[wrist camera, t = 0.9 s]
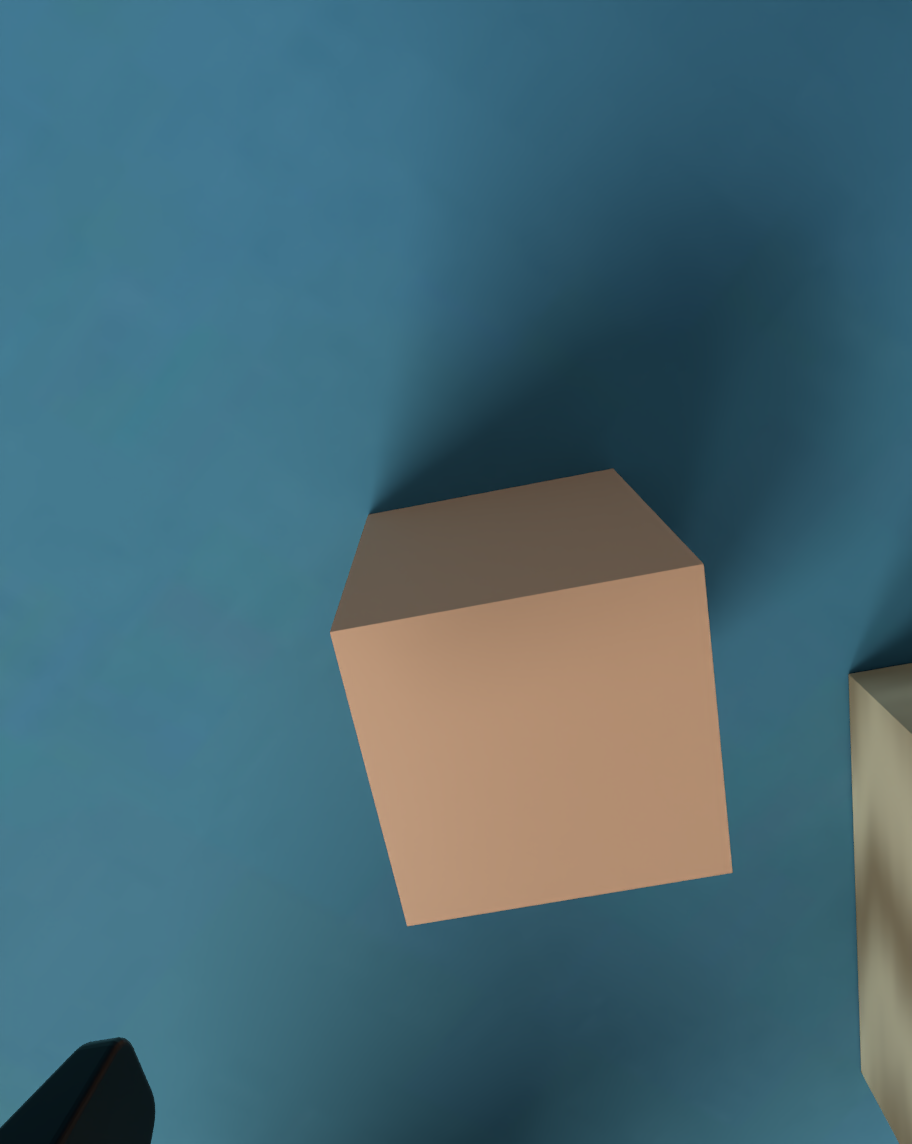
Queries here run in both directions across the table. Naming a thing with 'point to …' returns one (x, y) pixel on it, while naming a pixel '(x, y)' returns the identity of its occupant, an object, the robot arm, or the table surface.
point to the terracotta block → (534, 697)
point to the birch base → (884, 884)
